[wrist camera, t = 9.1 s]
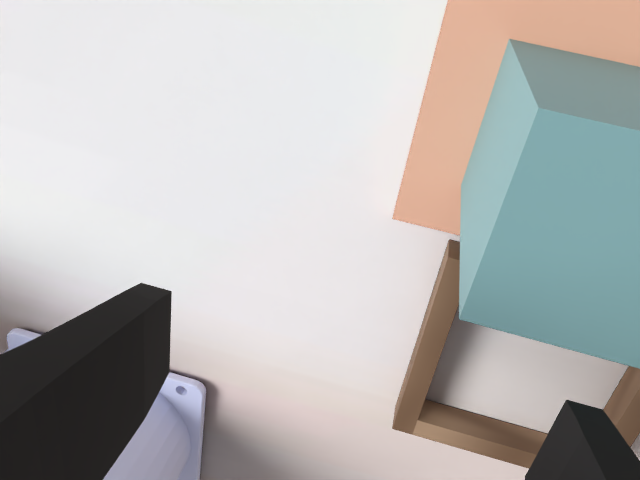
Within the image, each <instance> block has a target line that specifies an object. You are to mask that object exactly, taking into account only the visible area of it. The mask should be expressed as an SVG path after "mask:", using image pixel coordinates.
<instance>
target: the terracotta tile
mask: <svg viewBox="0 0 640 480" xmlns="http://www.w3.org/2000/svg"><path fill="white" fill-rule="evenodd" d="M509 39H513V40H517V41H522V42H527V43H531V44H536V45H541V46H545V47H550V48H555V49H559V50H564V51H569V52H573V53H578V54H583V55H587V56H592V57H596V58H601V59H606V60H610V61H615V62H620V63H624V64H629V65H634V66H638V67H640V0H448V2H447V6H446V10H445V14H444V18H443V22H442V26H441V30H440V34H439V38H438V42H437V45H436V49H435V53H434V57H433V61H432V65H431V69H430V73H429V77H428V81H427V85H426V89H425V93H424V96H423V100H422V104H421V108H420V112H419V116H418V120H417V124H416V128H415V132H414V136H413V140H412V144H411V147H410V151H409V155H408V159H407V163H406V167H405V171H404V175H403V179H402V183H401V187H400V191H399V195H398V199H397V202H396V206H395V210H394V214H393V218H392V219H395V220H399V221H403V222H407V223H411V224H416V225H420V226H424V227H428V228H432V229H436V230H440V231H444V232H448V233H452V234H456V235H460V213H461V184H462V181H463V178H464V175H465V172H466V169H467V165H468V162H469V159H470V156H471V153H472V150H473V147H474V144H475V141H476V138H477V135H478V132H479V129H480V126H481V123H482V120H483V117H484V114H485V111H486V108H487V105H488V101H489V98H490V95H491V92H492V89H493V86H494V83H495V80H496V77H497V74H498V71H499V68H500V65H501V62H502V59H503V56H504V53H505V50H506V47H507V44H508V41H509Z"/></svg>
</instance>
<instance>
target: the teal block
mask: <svg viewBox="0 0 640 480" xmlns="http://www.w3.org/2000/svg"><path fill="white" fill-rule="evenodd" d="M459 319H460V320H463V321H467V322H471V323H474V324H478V325H482V326H485V327H489V328H493V329H496V330H500V331H504V332H507V333H511V334H515V335H518V336H522V337H526V338H529V339H533V340H537V341H540V342H544V343H548V344H551V345H555V346H558V347H562V348H566V349H569V350H573V351H577V352H580V353H584V354H588V355H591V356H595V357H599V358H602V359H606V360H610V361H613V362H617V363H621V364H624V365H628V366H632V367H635V368H639V369H640V67H638V66H634V65H629V64H624V63H620V62H615V61H610V60H606V59H601V58H596V57H592V56H587V55H583V54H578V53H573V52H569V51H564V50H559V49H555V48H550V47H545V46H541V45H536V44H531V43H527V42H522V41H517V40H513V39H509V41H508V44H507V47H506V50H505V53H504V56H503V59H502V62H501V65H500V68H499V71H498V74H497V77H496V80H495V83H494V86H493V89H492V92H491V95H490V98H489V101H488V105H487V108H486V111H485V114H484V117H483V120H482V123H481V126H480V129H479V132H478V135H477V138H476V141H475V144H474V147H473V150H472V153H471V156H470V159H469V162H468V165H467V169H466V172H465V175H464V178H463V181H462V184H461V213H460V280H459Z"/></svg>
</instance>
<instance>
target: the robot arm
mask: <svg viewBox="0 0 640 480" xmlns="http://www.w3.org/2000/svg"><path fill="white" fill-rule="evenodd" d="M170 327H171V291H169V290H165V289H161V288H158V287H154V286H150V285H147V284H143V283H140V284H138V285H136V286H134V287H132V288H130V289H128V290H126V291H124V292H122V293H120V294H119V295H117V296H115V297H113V298H111V299H109V300H107V301H106V302H104V303H102V304H100V305H98V306H96V307H94V308H93V309H91V310H89V311H87V312H85V313H83V314H81V315H79V316H77V317H76V318H74V319H72V320H70V321H68V322H66V323H64V324H62V325H60V326H58V327H56V328H54V329H52V330H50V331H49V332H47V333H45V334H43V335H41V334H37V333H34V332H30V331H27V330H24V329H20V328H15V329H13V330H11V331H10V332H9V333H8V334H7V343H8V349H7V350H6V351H5V352H4V353H3V354H1V355H0V480H200V467H201V454H202V440H203V427H204V413H205V400H206V388H205V386H204V385H203V384H202V383H201V382H200V381H197V380H195V379H191V378H188V377H184V376H181V375H177V374H174V373H171V372H169V364H170ZM183 387H184V388H183ZM525 480H640V461H639V460H638V458H637V457H636V455H635V454H634V452H633V451H632V450H631V448H630V447H629V445H628V444H627V442H626V441H625V439H624V438H623V437H622V435H621V434H620V432H619V431H618V429H617V428H616V427H615V425H614V424H613V422H612V421H611V420H610V418H609V417H608V416H607V414H606V413H605V412H604V410H602V409H598V408H595V407H591V406H587V405H584V404H580V403H577V402H573V401H569V400H566V401H565V403H564V405H563V407H562V409H561V411H560V413H559V414H558V416H557V418H556V420H555V422H554V424H553V426H552V427H551V429H550V431H549V433H548V435H547V437H546V439H545V440H544V442H543V444H542V446H541V448H540V450H539V452H538V454H537V455H536V457H535V459H534V461H533V463H532V465H531V467H530V468H529V470H528V472H527V474H526V476H525Z"/></svg>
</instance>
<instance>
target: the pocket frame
mask: <svg viewBox="0 0 640 480" xmlns="http://www.w3.org/2000/svg"><path fill="white" fill-rule="evenodd" d="M459 280H460V242H457V241H453V240H449V241H448V244H447V247H446V251H445V254H444V257H443V260H442V263H441V266H440V269H439V272H438V276H437V279H436V282H435V285H434V288H433V291H432V294H431V297H430V300H429V304H428V307H427V310H426V313H425V316H424V319H423V322H422V325H421V329H420V332H419V335H418V338H417V341H416V344H415V347H414V350H413V353H412V357H411V360H410V363H409V366H408V369H407V372H406V375H405V378H404V382H403V385H402V388H401V391H400V394H399V397H398V400H397V403H396V407H395V413H394V420H393V427H392V429H395V430H399V431H402V432H405V433H409V434H412V435H416V436H419V437H423V438H426V439H429V440H433V441H436V442H440V443H443V444H447V445H450V446H454V447H457V448H460V449H464V450H467V451H471V452H474V453H478V454H481V455H485V456H488V457H491V458H495V459H498V460H502V461H505V462H509V463H512V464H515V465H519V466H522V467H526V468H530V467H531V465H532V463H533V461H534V459H535V457H536V455H537V454H538V452H539V450H540V448H541V446H542V444H543V442H544V440H545V439H546V437H547V435H548V434H545V433H542V432H538V431H535V430H531V429H528V428H524V427H521V426H517V425H513V424H510V423H506V422H503V421H499V420H496V419H492V418H489V417H485V416H482V415H478V414H475V413H471V412H468V411H464V410H460V409H457V408H453V407H450V406H446V405H443V404H439V403H436V402H432V401H429V400H425V398H426V395H427V392H428V389H429V387H430V384H431V381H432V378H433V375H434V373H435V370H436V367H437V364H438V361H439V358H440V356H441V353H442V350H443V347H444V344H445V342H446V339H447V336H448V333H449V330H450V328H451V325H452V322H453V319H454V316H455V313H456V311H457V308H458V305H459ZM603 410H604V412H605V413H606V414H607V416H608V417H609V418H610V420H611V421H612V422H613V424H614V425H615V427H616V428H617V429H618V431H619V432H620V434H621V435H622V437H623V438H624V439H625V441H626V442H627V444H628V445H629V447H631V445H632V444H633V442H634V441H635V439H636V438H637V436H638V435H639V433H640V369H639V368H635V367H632V366H629V367H628V369H627V371H626V372H625V374H624V376H623V377H622V379H621V381H620V382H619V384H618V386H617V387H616V389H615V391H614V392H613V394H612V396H611V398H610V399H609V401H608V403H607V404H606V406H605V408H604V409H603Z"/></svg>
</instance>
